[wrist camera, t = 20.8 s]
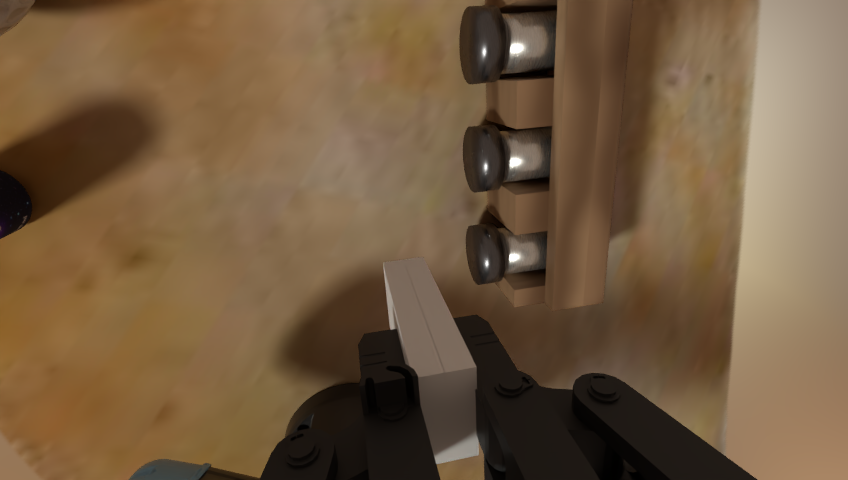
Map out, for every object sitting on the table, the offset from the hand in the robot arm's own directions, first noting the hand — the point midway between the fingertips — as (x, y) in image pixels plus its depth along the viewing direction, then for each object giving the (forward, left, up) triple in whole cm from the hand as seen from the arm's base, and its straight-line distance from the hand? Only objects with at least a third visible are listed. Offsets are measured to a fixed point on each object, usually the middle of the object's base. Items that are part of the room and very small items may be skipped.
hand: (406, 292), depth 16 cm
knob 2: (+14, 0, -25) cm, 28 cm away
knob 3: (+13, -9, -25) cm, 30 cm away
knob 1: (+13, +9, -25) cm, 30 cm away
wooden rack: (+15, 0, -26) cm, 30 cm away
